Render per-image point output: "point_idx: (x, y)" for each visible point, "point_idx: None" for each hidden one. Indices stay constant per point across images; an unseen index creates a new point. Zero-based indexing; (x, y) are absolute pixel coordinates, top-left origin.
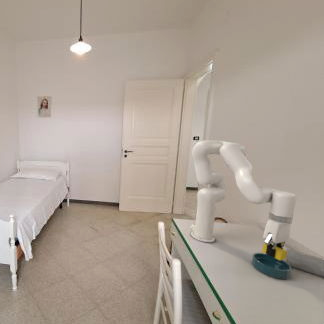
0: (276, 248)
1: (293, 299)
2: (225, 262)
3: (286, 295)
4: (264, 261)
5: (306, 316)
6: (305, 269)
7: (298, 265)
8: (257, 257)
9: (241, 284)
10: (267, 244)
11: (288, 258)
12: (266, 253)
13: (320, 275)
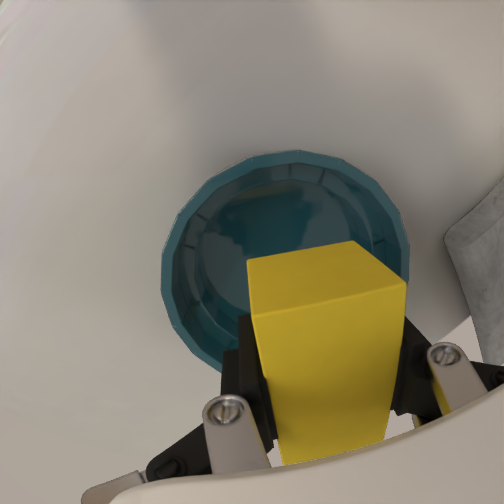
0: (328, 416)
1: (174, 423)
2: (36, 165)
3: (164, 409)
4: (326, 189)
5: (149, 455)
6: (465, 295)
7: (466, 278)
8: (283, 165)
9: (24, 334)
10: (140, 483)
11: (489, 213)
12: (239, 322)
13: (473, 323)
